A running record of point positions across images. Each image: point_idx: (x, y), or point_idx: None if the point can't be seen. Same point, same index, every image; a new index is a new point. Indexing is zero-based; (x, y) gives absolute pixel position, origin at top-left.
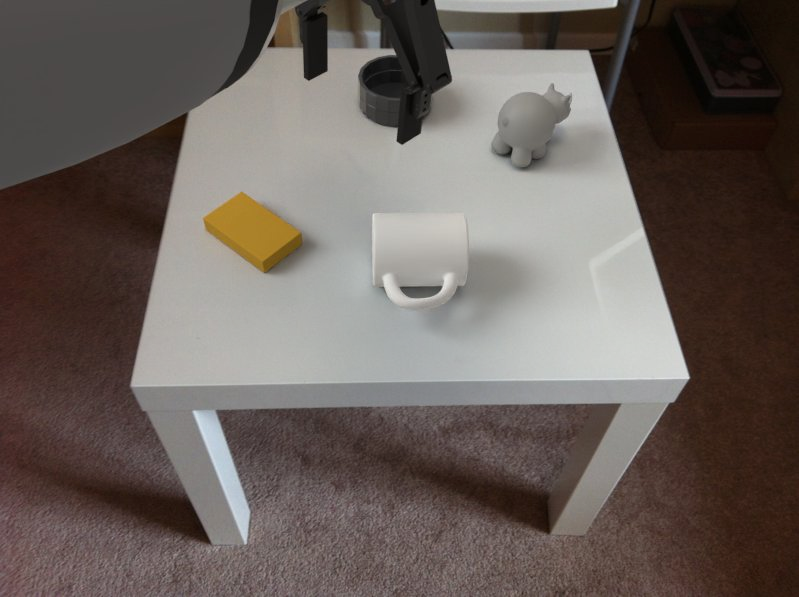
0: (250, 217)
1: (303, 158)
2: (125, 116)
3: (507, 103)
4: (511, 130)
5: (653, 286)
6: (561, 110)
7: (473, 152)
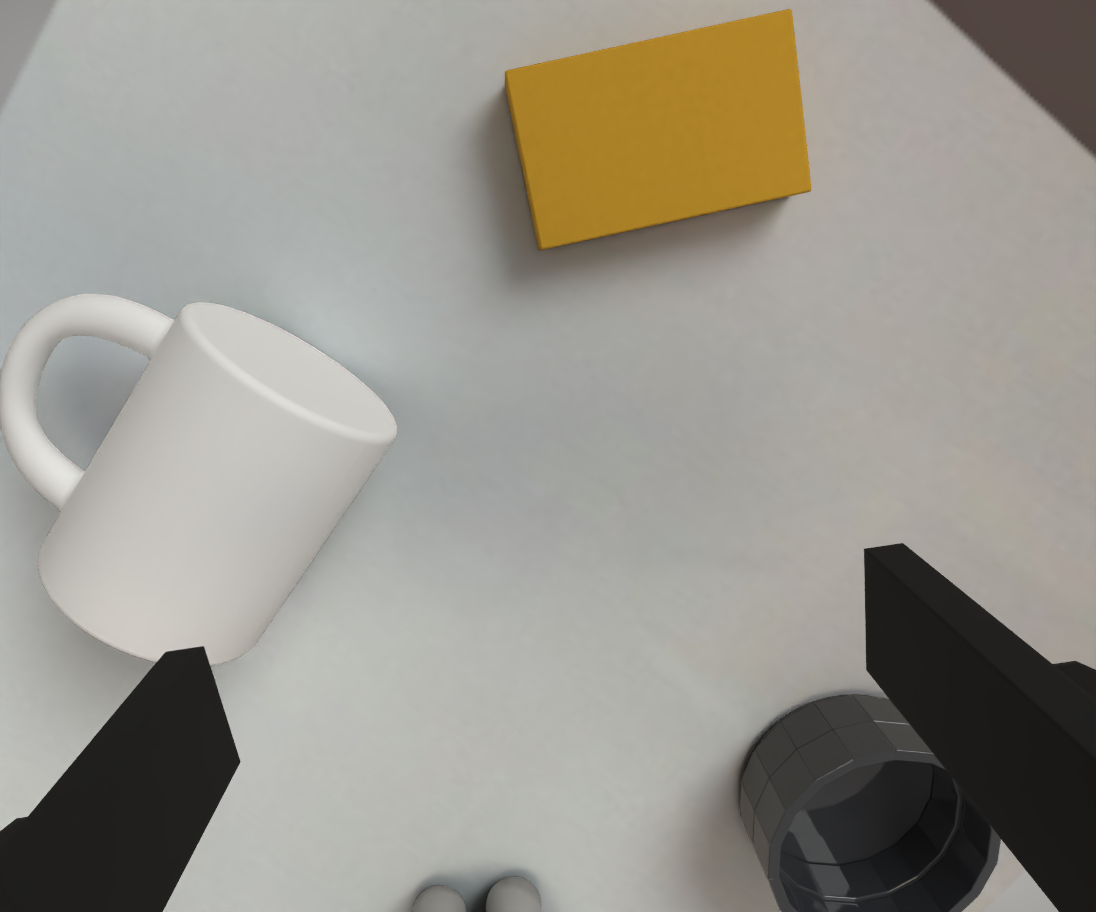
0: (694, 148)
1: (831, 452)
2: None
3: None
4: None
5: None
6: None
7: (551, 834)
